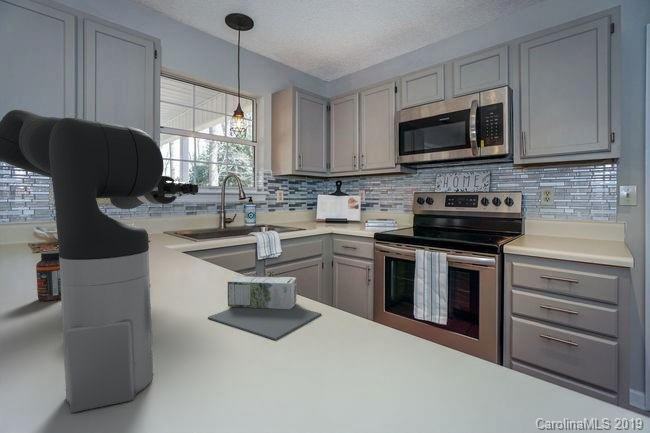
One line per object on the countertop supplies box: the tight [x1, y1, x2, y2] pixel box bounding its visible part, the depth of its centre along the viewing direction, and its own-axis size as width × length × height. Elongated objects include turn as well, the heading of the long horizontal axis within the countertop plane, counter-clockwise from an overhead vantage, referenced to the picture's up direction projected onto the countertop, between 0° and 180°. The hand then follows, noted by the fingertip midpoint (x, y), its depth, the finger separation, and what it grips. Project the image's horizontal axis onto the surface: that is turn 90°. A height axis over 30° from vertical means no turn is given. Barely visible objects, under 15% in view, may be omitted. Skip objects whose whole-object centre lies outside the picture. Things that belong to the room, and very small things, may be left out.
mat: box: [207, 306, 322, 341], centre depth 65 cm, size 18×14×1 cm
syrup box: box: [227, 275, 297, 309], centre depth 71 cm, size 6×6×14 cm
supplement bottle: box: [35, 250, 61, 302], centre depth 77 cm, size 6×6×11 cm
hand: (195, 188), depth 76 cm, fingers closed
